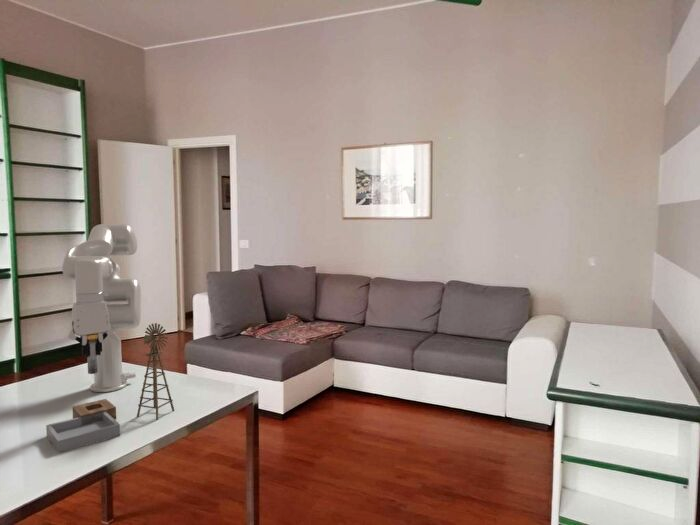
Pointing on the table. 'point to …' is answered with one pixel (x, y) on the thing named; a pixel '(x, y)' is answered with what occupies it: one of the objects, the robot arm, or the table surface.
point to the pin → (92, 353)
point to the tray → (81, 431)
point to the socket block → (94, 410)
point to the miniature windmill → (154, 368)
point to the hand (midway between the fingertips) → (92, 354)
